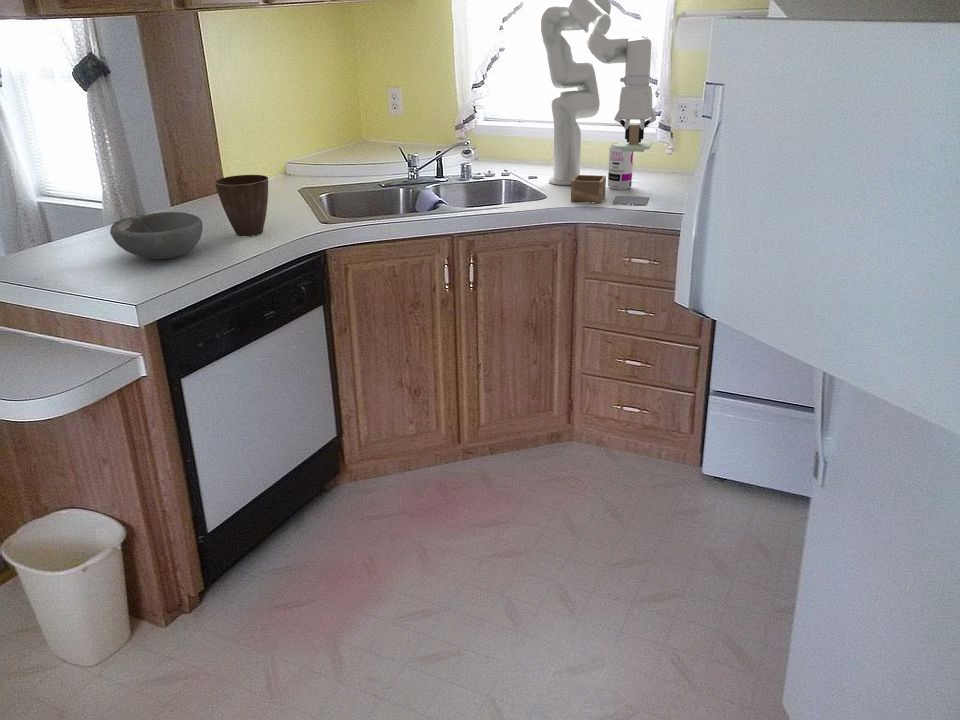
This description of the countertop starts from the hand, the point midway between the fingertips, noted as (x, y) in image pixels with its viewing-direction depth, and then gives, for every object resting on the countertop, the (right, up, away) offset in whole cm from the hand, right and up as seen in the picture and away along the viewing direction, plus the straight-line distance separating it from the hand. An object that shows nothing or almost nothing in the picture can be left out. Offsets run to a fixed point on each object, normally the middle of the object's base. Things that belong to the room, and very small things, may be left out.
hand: (634, 141), depth 260 cm
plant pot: (-118, -33, -19) cm, 124 cm away
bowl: (-135, -42, -39) cm, 147 cm away
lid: (0, -2, +1) cm, 2 cm away
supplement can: (0, -9, +27) cm, 29 cm away
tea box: (-13, -16, +12) cm, 24 cm away
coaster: (0, -18, +8) cm, 19 cm away
